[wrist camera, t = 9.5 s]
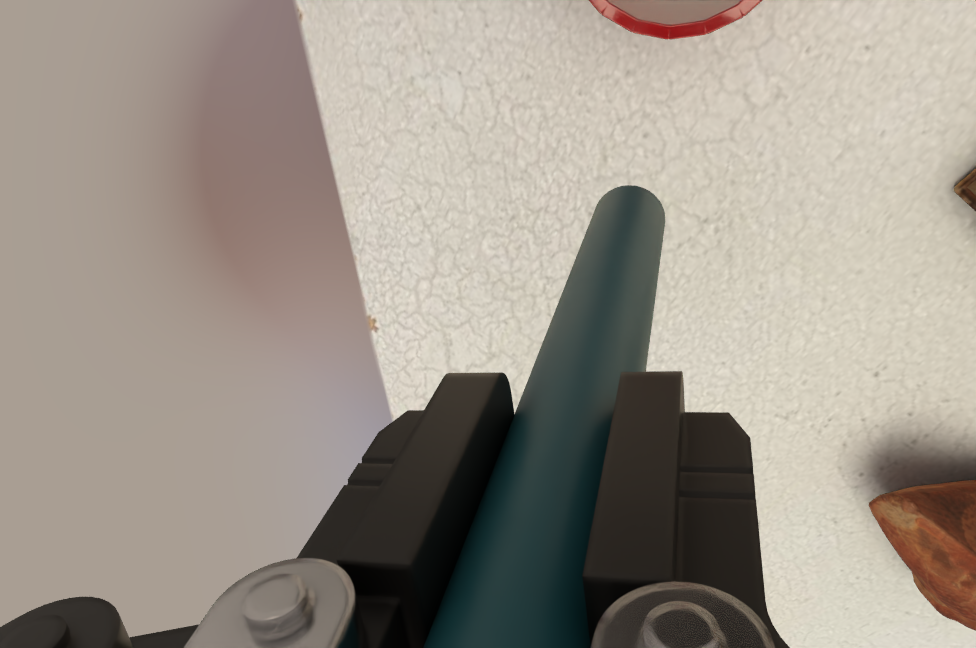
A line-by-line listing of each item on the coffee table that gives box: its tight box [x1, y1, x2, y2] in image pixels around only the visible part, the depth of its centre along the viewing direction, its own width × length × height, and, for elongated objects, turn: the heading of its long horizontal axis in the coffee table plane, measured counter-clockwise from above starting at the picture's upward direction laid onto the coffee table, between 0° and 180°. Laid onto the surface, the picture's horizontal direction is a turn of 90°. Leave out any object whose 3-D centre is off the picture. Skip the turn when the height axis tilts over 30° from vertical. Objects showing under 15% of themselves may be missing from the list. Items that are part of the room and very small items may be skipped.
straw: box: [423, 186, 665, 648], centre depth 12 cm, size 2×2×14 cm
